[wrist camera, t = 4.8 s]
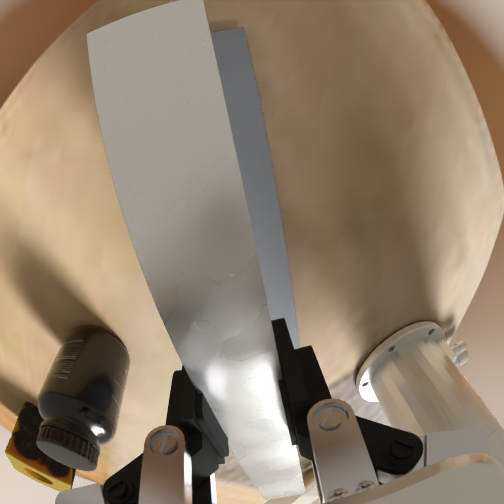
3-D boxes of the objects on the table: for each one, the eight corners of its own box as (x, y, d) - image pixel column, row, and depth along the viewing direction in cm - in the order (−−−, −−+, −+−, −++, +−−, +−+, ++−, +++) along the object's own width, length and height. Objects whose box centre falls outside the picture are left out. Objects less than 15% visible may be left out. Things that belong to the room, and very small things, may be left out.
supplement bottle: (73, 365, 24) (38, 458, 13) (63, 315, 21) (8, 417, 10) (133, 381, 25) (114, 484, 14) (131, 332, 23) (100, 452, 12)
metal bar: (211, 48, 7) (201, -6, 4) (294, 445, 16) (305, 493, 12) (138, 68, 7) (86, 33, 4) (258, 451, 16) (265, 500, 12)
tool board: (241, 33, 14) (243, 27, 13) (299, 361, 26) (302, 370, 25) (109, 67, 14) (103, 64, 13) (209, 380, 26) (210, 390, 25)
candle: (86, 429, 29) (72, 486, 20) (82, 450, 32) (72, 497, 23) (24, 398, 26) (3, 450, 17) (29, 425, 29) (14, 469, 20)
